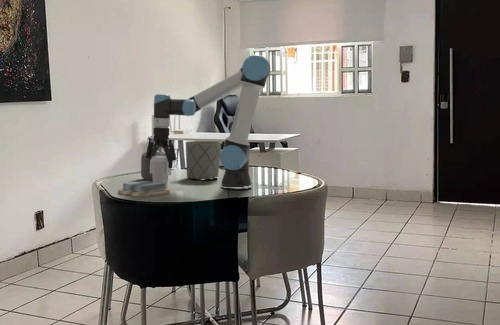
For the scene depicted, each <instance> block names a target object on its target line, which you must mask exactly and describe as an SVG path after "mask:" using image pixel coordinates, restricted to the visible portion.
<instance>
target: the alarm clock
mask: <svg viewBox="0 0 500 325" xmlns="http://www.w3.org/2000/svg"><path fill="white" fill-rule="evenodd" d="M146 153H147V151H145V152H143V153H142V154H141V161H140V175H141V178H143V180H144V181H150V182H153V175H152V173H150V166H149V159H148V158H146ZM155 156H166V154H165V151H159V150H157V152H156V155H155Z"/></svg>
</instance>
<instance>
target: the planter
mask: <svg viewBox="0 0 500 325" xmlns="http://www.w3.org/2000/svg"><path fill="white" fill-rule="evenodd" d="M221 151H222V142H218V141H206V140H205V141H203V140H195V141H194V140H192V141H190V140H189V141H185V160H186V162H185V164H186V177H189V178H188V179H193V178H194V179H195V180H200V179H210V178H215V177H218V178H219V172H220V170H219V169H220V163H221V161H220V153H221ZM194 179H193V180H194ZM210 180H211V179H210Z"/></svg>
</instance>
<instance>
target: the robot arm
mask: <svg viewBox="0 0 500 325" xmlns="http://www.w3.org/2000/svg"><path fill="white" fill-rule="evenodd" d="M270 74H271V65H270V63H269V61H268V60H267V59H266V57H264V56H263V55H261V54H251V55H249V56H247V58H245V59H244V61H243V63H242V66H241V68H239V69H238V71H237V72H236V73H234V74H232V75H230V76H228V77H227V78H224V79H223V80H221V81H219V82H217V83H215V84H214V85H212V86H210V87H208V88H205V89H204V90H202V91H200V92H198V93H197V94H195V95H193V96H191V97H189V98H186V99H183V98H179V99H177V98H176V99H175V98H171V95H170V94H160V93H159V94H157V93H156V94H155V95H154V98H153V128H152V129H153V130H152V133H153V137H148V145H147V149H146V152H147V153H146V158H148V159H149V166H150V173H152V162H151V158H152V156H155V155H156V152H157V151H159V148H162V149H163V152H164V153H165V154H166V157H167V159H168V161H167V166H166V175H168V176H172V169H173V162H174V161H177V155H176V150H175V139H172V138H171V139H169V135H170V122H171V120H170V119H171V116H186V117H190V116H191V117H192V116H195V114H196V113H197V112H199V111H201V110H203V109H204V108H206V107H208V106H211V105H212V104H214V103H216V102H218V101H219V100H221V99H223V98H225V97H228V96H229V95H231V94H232V93H236V92H237V91H238V90H240V93H239V98H238V102H237V106H236V110H235V113H234V117H233V122H232V125H231V128H230V133H229V136H227V137H226V138H225V141H224V142H223V143H224V144H223V148H222V149H221V152H220V163H221V165H222V166H223V167H224V170H225V171H224V175H223V176H222V180H221V183H220V187H221V186H223V187H244V186H249V185H251V184H252V180H251V176H250V173H249V172H250V171H249V170H250V150H251V147H250V146H251V145H250V143H249V136H250V132H251V128H252V124H253V120H254V117H255V112H256V108H257V105H258V101H259V97H260V93H261V90H263V89H265V87H266V83H267V79H268V77H269V75H270ZM252 185H253V184H252Z"/></svg>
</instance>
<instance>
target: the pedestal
mask: <svg viewBox="0 0 500 325" xmlns="http://www.w3.org/2000/svg"><path fill="white" fill-rule="evenodd" d="M117 194H119V195H124V196H132V197H139V198H145V199H146V198H152V197H159V196H164V195H169V194H170V190H169V189H166V188H165V183H157V182H150V181H146V180H138V181H133V182H132V181H131V182H124V183H123V184H122V189H118V190H117Z"/></svg>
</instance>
